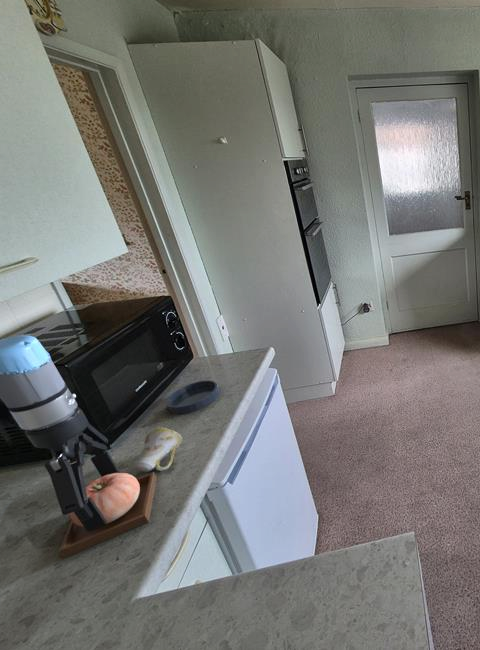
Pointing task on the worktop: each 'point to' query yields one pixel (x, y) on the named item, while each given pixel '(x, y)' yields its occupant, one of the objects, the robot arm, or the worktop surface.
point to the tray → (134, 517)
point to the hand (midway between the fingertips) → (105, 500)
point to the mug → (158, 449)
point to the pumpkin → (112, 495)
